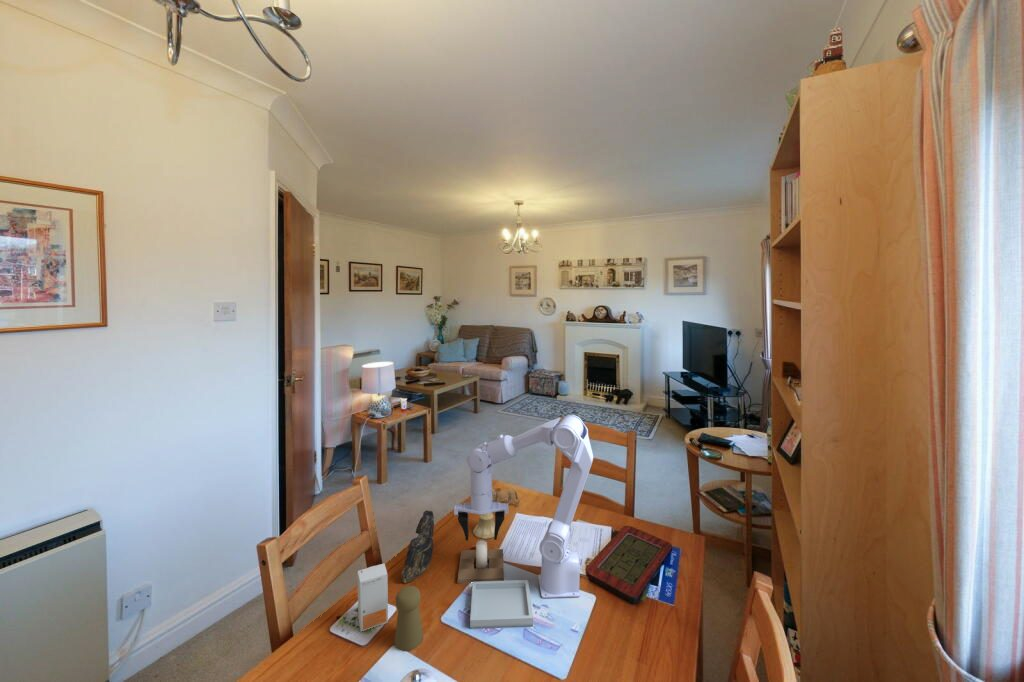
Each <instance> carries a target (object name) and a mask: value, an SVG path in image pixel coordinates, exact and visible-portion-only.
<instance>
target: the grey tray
mask: <svg viewBox="0 0 1024 682" xmlns="http://www.w3.org/2000/svg"><path fill="white" fill-rule="evenodd" d="M529 584H530V583H529V579H522V580H521V579H520V580H519V579H517V580H516V579H515V580H513V579H512V580H504V581H481V582H473V584H472V590H471V601H470V602H471V603H470V604H471V605H470V616H469V618H470V619H469V622H470V623H469V625H470V626H469V628H470V630H471V629H473V630H474V629H498V628H520V627H521V628H524V627H525V628H527V627H534V615H533V608H532V601H531V600H532V599H531V592H530V586H529Z"/></svg>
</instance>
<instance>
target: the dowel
mask: <svg viewBox="0 0 1024 682" xmlns="http://www.w3.org/2000/svg"><path fill="white" fill-rule="evenodd" d="M487 549H488V542H487V541H486V539H480V540H477V541H476V543H475V550H476V563H475V569H486V568H488V562H487Z"/></svg>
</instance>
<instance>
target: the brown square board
mask: <svg viewBox="0 0 1024 682" xmlns="http://www.w3.org/2000/svg"><path fill="white" fill-rule="evenodd" d="M459 558H460V559H459V567H458V574H457V585H462V584H463V585H467V584H469V583H471V582H481V581H505V566H504V548H495V549H494V548H492V549H491V548H490V549H488V548H487V563H489V564H488V567H487V568H486V569H476V568H475V564H476V549H461V551H460V557H459Z"/></svg>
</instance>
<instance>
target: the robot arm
mask: <svg viewBox="0 0 1024 682" xmlns="http://www.w3.org/2000/svg"><path fill="white" fill-rule="evenodd" d="M542 442H543V443H545V444H546V445H548V446H550V447H552V446H553V445H554V447H556V448H557V449H558V450H559V451H560V452H561V453H563V455H564V456H565V457H567V458H568V460H569V461H570V463H571V464H570V467H569V470H568V473H567V476H566V479H565V483H564V486H563V488H562V490H561V491H562V492H561V494H560V497H559V500H558V503H557V506H556V509H555V513H554V516H553V519H552V521H550V523H549V524H548V526H547V530H546V532H545V534H544V535H543V538H542V540H541V541H540V543H539V552H540V555H541V566H540V567H541V568H540V569H541V570H540V571H541V573H539V574H538V575H537V578H538V584H539V590H540V596H541V598H543V599H546V598H547V599H549V598H551V599H553V598H575V597H576V598H578V597H580V595H581V594H580V572H581V571H580V560H579V559H580V558H579V556H578V552H577V551H575V550H570V547H569V545H568V544H569V542H570V540H571V538H572V534H573V533H572V523H573V521H574V520H573V519H574V517H575V514H576V511H577V508H578V505H579V503H580V500H581V497H582V494H583V491H584V488H585V485H586V481H587V478H588V476H589V473H590V470H591V467H592V465H593V461H594V453H593V449H592V445H591V441H590V437H589V429H588V427H587V426H586V425H585V423H584V422H583V420H582V418H580V417H579V416H577V415H575V414H567V415H564V417H562V419H561V417H558V418H555V419H552V420H550V421H547V422H545V423H542V424H540V425H538V426H536V427H533V428H530V429H529V430H527V431H525V432H522V433H520V434H519V435H516V436H511V435H509V434H505V435H503V434H499V435H498V436H496V439H493V440H492V441H489V442H487V441H484V442H483V443H481V444H479V445H477V447H475V448H474V449H472V451H470V452H469V453H468V455H467V457H466V463H467V465H468V467H469V469H470V501H469V502H464V503H457V504H454V506H453V514H454V516H457V520H458V523H459V525H460V526H461V528H462V531H463V533H464V537H465V542H466V541H468V542H469V538H470V537H469V536H470V535H469V533H470V530H469V514H474V515H480V514H487V513H492V514H494V522H495V529H494V537H493V539H494V540H495V541H497V540H498V536H499V535H498V534H499V533H500V528H501V526H502V525H503V523H504V522H505V521H504V520H505V515H508V514H509V505H508V503H507V502H504V503H503V502H500V503H498V502H492V488H493V465H496V464H498V463H501V462H504V461H506V460H509V459H511V458H514V457H516V455H517V453H518V450H521V449H524V448H527V447H529V446H534V445H536V444H538V443H542ZM498 532H499V533H498Z"/></svg>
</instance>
